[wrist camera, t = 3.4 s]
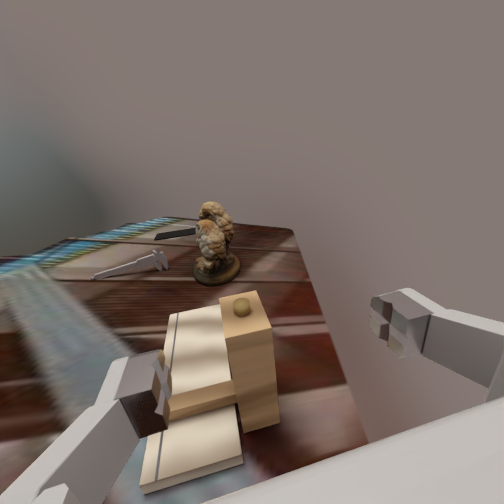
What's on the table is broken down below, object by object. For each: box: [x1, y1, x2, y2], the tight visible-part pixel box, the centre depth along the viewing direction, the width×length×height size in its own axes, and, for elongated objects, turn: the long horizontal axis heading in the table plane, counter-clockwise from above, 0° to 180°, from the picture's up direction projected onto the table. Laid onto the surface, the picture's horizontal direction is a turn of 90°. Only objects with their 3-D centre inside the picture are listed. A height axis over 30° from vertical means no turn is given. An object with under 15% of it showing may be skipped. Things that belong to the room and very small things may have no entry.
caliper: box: [90, 249, 169, 280], centre depth 61 cm, size 20×1×6 cm, turn 95°
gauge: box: [168, 291, 280, 433], centre depth 24 cm, size 6×12×14 cm, turn 102°
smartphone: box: [154, 228, 196, 240], centre depth 90 cm, size 7×1×15 cm
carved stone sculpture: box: [193, 202, 240, 286], centre depth 57 cm, size 18×12×17 cm, turn 12°
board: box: [139, 304, 243, 494], centre depth 32 cm, size 24×9×2 cm, turn 12°
